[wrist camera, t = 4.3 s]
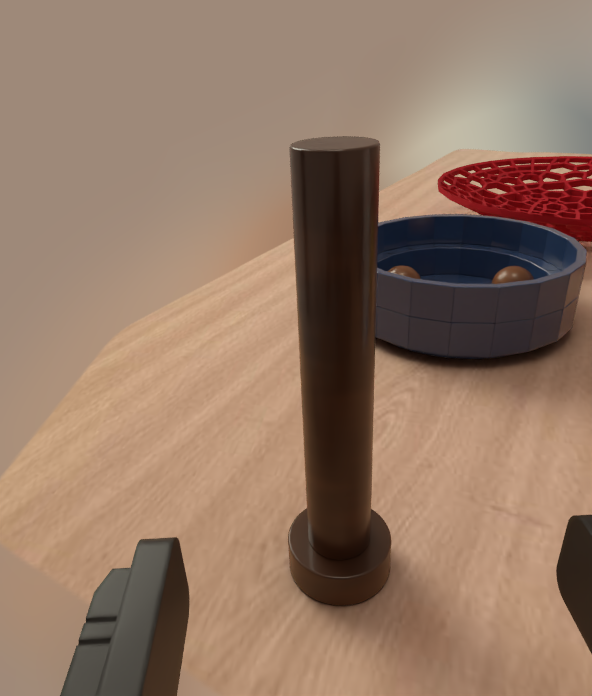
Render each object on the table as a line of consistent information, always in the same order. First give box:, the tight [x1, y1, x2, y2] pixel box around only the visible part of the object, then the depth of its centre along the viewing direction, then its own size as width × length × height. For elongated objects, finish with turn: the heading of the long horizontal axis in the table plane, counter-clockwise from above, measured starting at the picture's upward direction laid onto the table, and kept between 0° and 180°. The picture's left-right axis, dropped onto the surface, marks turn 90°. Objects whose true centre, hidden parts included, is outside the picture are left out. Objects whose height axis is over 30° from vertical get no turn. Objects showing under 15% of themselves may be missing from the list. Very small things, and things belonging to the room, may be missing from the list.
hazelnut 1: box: [387, 265, 421, 279], centre depth 42 cm, size 3×3×3 cm
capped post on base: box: [288, 136, 391, 605], centre depth 19 cm, size 4×4×16 cm
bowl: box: [438, 156, 592, 242], centre depth 58 cm, size 29×30×5 cm
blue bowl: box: [375, 214, 587, 359], centre depth 41 cm, size 16×16×6 cm
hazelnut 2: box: [492, 266, 534, 284], centre depth 41 cm, size 3×3×3 cm
